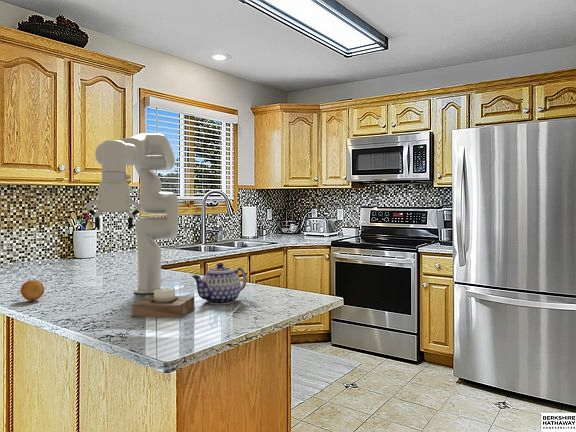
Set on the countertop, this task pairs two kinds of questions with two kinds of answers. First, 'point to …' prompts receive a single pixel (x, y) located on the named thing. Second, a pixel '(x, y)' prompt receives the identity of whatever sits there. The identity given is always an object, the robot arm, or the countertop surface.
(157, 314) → the housing
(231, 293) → the teapot
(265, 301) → the countertop surface
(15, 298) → the countertop surface
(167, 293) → the button
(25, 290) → the fruit
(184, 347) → the countertop surface
